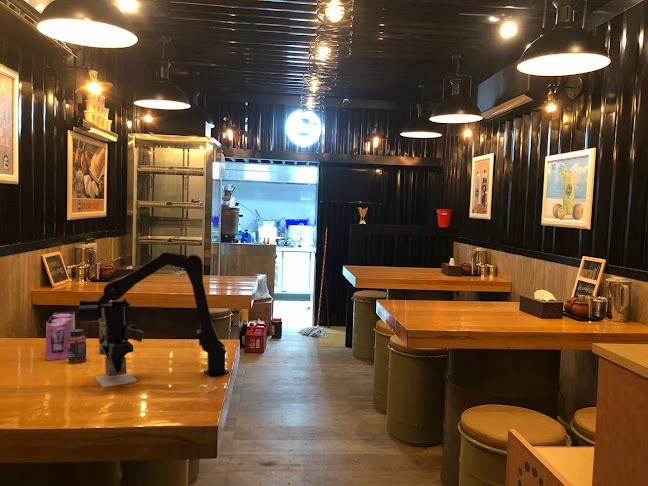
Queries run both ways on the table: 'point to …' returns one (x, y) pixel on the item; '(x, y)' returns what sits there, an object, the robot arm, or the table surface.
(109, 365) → the walnut cube
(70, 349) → the supplement bottle
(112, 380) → the stone coaster
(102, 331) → the sauce bottle
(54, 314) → the gum box
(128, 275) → the robot arm
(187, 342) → the table surface
